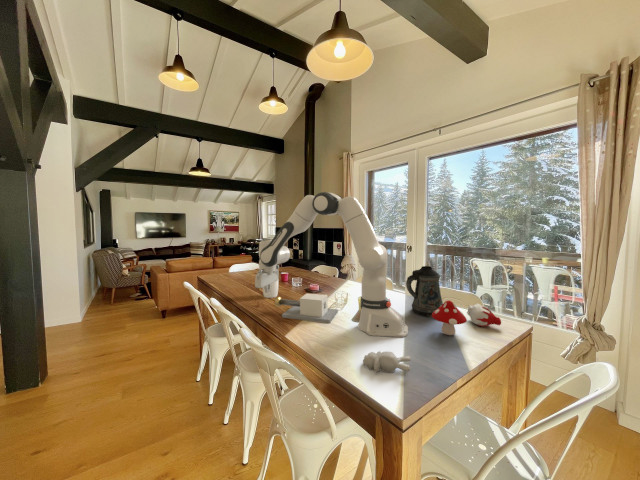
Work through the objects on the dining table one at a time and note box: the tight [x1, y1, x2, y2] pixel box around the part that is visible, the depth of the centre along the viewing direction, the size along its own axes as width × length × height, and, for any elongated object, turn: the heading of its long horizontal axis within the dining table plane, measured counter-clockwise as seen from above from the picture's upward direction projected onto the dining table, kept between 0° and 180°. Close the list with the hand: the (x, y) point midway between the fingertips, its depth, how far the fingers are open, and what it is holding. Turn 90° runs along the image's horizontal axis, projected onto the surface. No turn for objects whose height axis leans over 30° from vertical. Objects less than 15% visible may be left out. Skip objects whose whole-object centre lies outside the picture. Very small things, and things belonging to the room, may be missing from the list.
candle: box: [466, 303, 502, 328], centre depth 120 cm, size 9×11×15 cm
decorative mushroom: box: [431, 300, 468, 336], centre depth 110 cm, size 14×14×15 cm
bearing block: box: [281, 292, 339, 324], centre depth 136 cm, size 26×16×10 cm, turn 72°
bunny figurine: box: [362, 350, 411, 374], centre depth 85 cm, size 10×5×15 cm
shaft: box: [274, 296, 300, 308], centre depth 139 cm, size 18×5×5 cm, turn 72°
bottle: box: [261, 278, 279, 299], centre depth 171 cm, size 11×11×25 cm
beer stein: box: [405, 265, 444, 318], centre depth 137 cm, size 16×19×25 cm
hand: (267, 292), depth 143 cm, fingers closed
